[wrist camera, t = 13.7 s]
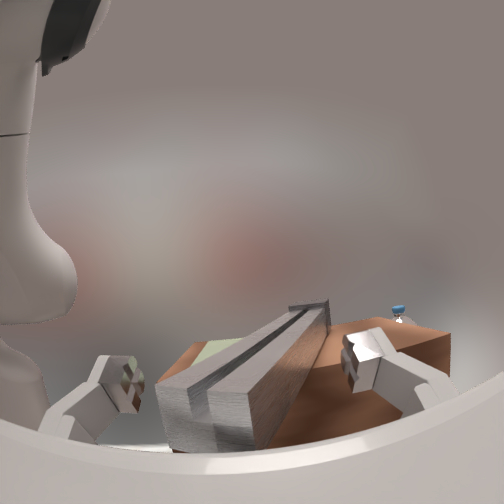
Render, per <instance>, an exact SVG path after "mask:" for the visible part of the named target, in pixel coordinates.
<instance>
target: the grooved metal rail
mask: <svg viewBox="0 0 504 504" xmlns="http://www.w3.org/2000/svg"><path fill="white" fill-rule="evenodd" d="M330 329H331V318H330V308H329V299H321V300H312V301H304V302H296V303H294V304H292V305H290V306H289V312H288V313H286V314H284V315H283V316H281V317H279V318H278V319H276V320H274V321H273V322H271V323H269V324H268V325H266V326H264V327H263V328H261V329H259V330H257V331H255V332H254V333H252V334H250V335H248V336H247V337H245V338H243V339H241V340H240V341H238V342H236V343H234V344H232V345H231V346H229V347H227V348H225V349H223V350H221V351H220V352H218V353H216V354H214V355H212V356H210V357H208V358H206V359H205V360H203V361H201V362H199V363H197V364H195V365H193V366H191V367H189V368H187V369H185V370H183V371H181V372H179V373H177V374H175V375H173V376H171V377H169V378H167V379H165V380H163V381H161V382H159V383H157V384H155V389H156V394H157V399H158V403H159V408H160V412H161V417H162V421H163V425H164V429H165V433H166V436H167V440H168V444H169V448H171V449H175V450H179V451H184V452H188V453H230V452H245V451H256V450H266V449H267V448H268V446H269V444H270V443H271V441H272V439H273V438H274V436H275V434H276V432H277V431H278V429H279V427H280V426H281V424H282V422H283V420H284V418H285V417H286V415H287V413H288V411H289V409H290V408H291V406H292V404H293V402H294V400H295V398H296V397H297V395H298V393H299V391H300V389H301V387H302V385H303V383H304V381H305V379H306V377H307V375H308V373H309V371H310V369H311V367H312V365H313V363H314V361H315V359H316V357H317V355H318V353H319V351H320V349H321V346H322V344H323V342H324V340H325V338H326V336H327V334H329V331H330Z"/></svg>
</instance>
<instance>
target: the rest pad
mask: <svg viewBox="0 0 504 504" xmlns="http://www.w3.org/2000/svg"><path fill="white" fill-rule="evenodd" d="M241 339H243V338H237V339H228V340H217V341H208V343H207V344H206V346H205V347H204V348H203V350H202V351H201V352H200V354H199V355H198V356H197V358H196V359H195V361H194V362H193V363H192V365H191V366H193V365H195V364H197V363H199V362H201V361H203V360H205V359H206V358H208V357H210V356H212V355H214V354H216V353H218V352H220V351H221V350H223V349H225V348H227V347H229V346H231V345H232V344H234V343H236V342H238V341H240V340H241ZM191 366H190V367H191Z"/></svg>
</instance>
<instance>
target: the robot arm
mask: <svg viewBox="0 0 504 504" xmlns="http://www.w3.org/2000/svg"><path fill="white" fill-rule="evenodd" d="M110 2H111V0H0V325H15V324H36V323H42V322H45V321H49V320H53V319H56V318H59V317H62V316H65V315H66V314H67V313H68V312H69V311H70V309H71V308H72V306H73V304H74V301H75V298H76V294H77V285H78V282H77V274H76V270H75V266H74V264H73V262H72V260H71V258H70V256H69V255H68V253H67V252H66V251H65V250H64V249H63V248H62V247H61V246H59V245H58V244H56V243H55V242H54V241H52V240H51V239H50V238H49V237H48V236H47V235H46V233H44V231H43V230H42V229H41V227H40V226H39V224H38V222H37V221H36V219H35V217H34V215H33V213H32V210H31V207H30V204H29V199H28V194H27V176H26V175H27V152H28V143H29V135H30V133H28V132H30V128H31V121H32V113H33V106H34V96H35V87H36V78H37V65H38V62H39V61H41V62H42V76H46V75H48V74H49V73H50V71H51V69H52V67H53V66H55V65H58V64H60V63H63V62H65V61H68V60H69V59H70V58H72V57H73V56H74V55H76V54H77V53H78V52H80V51H81V50H82V49H84V47H85V45H86V43H87V42H88V41H89V40H90V39H91V38H92V36H93V35H94V34H95V33H96V32H97V30H98V29H99V27H100V26H101V24H102V22H103V21H104V19H105V17H106V15H107V12H108V9H109V6H110ZM342 344H343V346H344V348H343V349H342V350H341V356H340V359H341V366H342V369H343V372H344V373H345V374H346V375H348V380H347V382H348V384H349V386H350V389H351V391H352V394H353V393H357V392H362V391H366V390H370V389H373V391H375V392H376V393H377V394H379V395H380V396H381V397H383V398H384V399H385V400H387V401H388V402H389V403H391V404H392V405H394V406H395V407H396V408H398V409H399V410H400V411H402V412H403V414H402V416H401V418H400V419H399V420H396V421H393V422H390V423H387V424H384V425H381V426H378V427H374V428H371V429H367V430H364V431H360V432H356V433H353V434H349V435H345V436H341V437H336V438H332V439H327V440H322V441H318V442H312V443H307V444H301V445H295V446H289V447H282V448H274V449H266V450H256V451H245V452H230V453H164V452H149V451H137V450H128V449H120V448H113V447H106V446H100V445H98V444H97V443H96V442H95V440H96V439H97V438H98V437H99V436H100V435H101V434H102V432H103V431H104V430H105V429H106V428H107V427H108V426H109V425H110V424H111V423H112V421H113V420H114V419H115V418H116V417H117V416H118V415H119V412H120V413H121V412H122V413H138V411H139V407H140V403H141V400H140V398H139V396H140V395H141V394H142V393H143V391H144V377H143V374H142V372H141V370H139V369H138V368H137V367H136V366H137V361H136V359H135V357H133V356H112V355H111V356H103V355H101V356H99V357H98V359H97V361H96V363H95V365H94V367H93V369H92V372H91V374H90V376H89V379H88V381H87V383H85V382H84V383H82V384H81V385H80V386H78V387H77V388H76V389H74V390H73V391H72V392H70V393H69V394H68V395H67V396H65V397H64V398H63V399H61V400H60V401H58V402H57V403H56V404H54V405H53V406H52V407H51V406H50V403H49V400H48V396H47V392H46V388H45V385H44V381H43V376H42V373H41V371H40V369H39V368H38V366H37V365H36V364H35V362H34V361H33V360H31V359H30V358H29V357H27V356H26V355H24V354H22V353H20V352H18V351H16V350H14V349H12V348H10V347H8V346H7V345H6V344H5V343H4V342H3V340H2V339H1V337H0V504H504V371H503V372H501V373H499V374H498V375H496V376H494V377H492V378H491V379H489V380H487V381H485V382H483V383H482V384H480V385H478V386H476V387H474V388H472V389H470V390H468V391H466V392H464V393H462V394H460V393H459V392H458V390H457V389H456V387H455V386H454V384H453V383H452V381H451V380H450V378H449V377H448V375H447V374H446V373H444V372H442V371H439V370H437V369H435V368H433V367H431V366H429V365H427V364H425V363H423V362H420V361H418V360H416V359H414V358H412V357H410V356H408V355H406V354H404V353H402V352H398V353H397V351H396V350H395V348H394V347H393V345H392V344H391V342H390V341H389V339H388V338H387V336H386V335H385V333H384V332H383V330H382V329H381V328H380V327H376V328H372V329H368V330H364V331H359V332H355V333H350V334H345V335H344V336H343V339H342Z"/></svg>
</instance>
